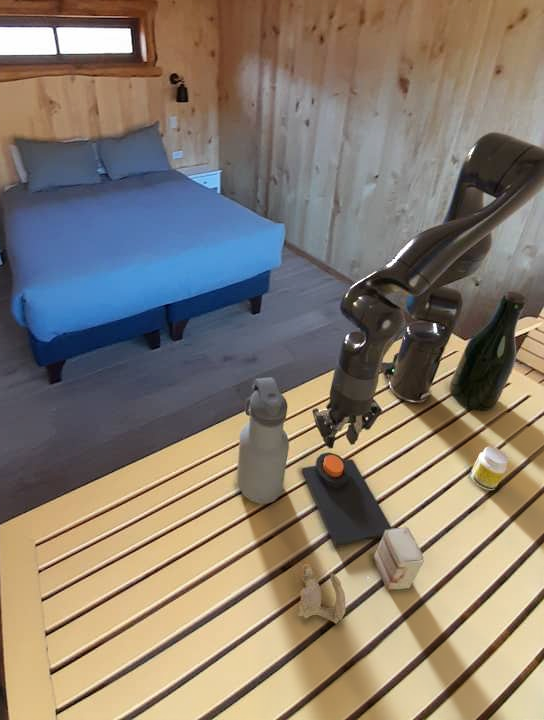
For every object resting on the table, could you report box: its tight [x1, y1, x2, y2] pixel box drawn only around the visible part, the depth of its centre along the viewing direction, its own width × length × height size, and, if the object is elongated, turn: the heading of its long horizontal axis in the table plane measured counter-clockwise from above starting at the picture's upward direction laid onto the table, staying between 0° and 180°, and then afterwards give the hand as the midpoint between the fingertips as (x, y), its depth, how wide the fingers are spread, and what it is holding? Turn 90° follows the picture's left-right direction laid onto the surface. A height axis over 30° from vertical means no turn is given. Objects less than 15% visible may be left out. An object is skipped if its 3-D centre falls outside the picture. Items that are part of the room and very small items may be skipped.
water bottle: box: [236, 377, 290, 505], centre depth 81 cm, size 10×10×28 cm
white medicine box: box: [373, 526, 426, 591], centre depth 70 cm, size 5×4×10 cm
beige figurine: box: [297, 563, 347, 624], centre depth 67 cm, size 9×6×10 cm
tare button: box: [323, 455, 344, 478], centre depth 86 cm, size 4×4×2 cm
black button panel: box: [301, 452, 393, 548], centre depth 83 cm, size 16×12×3 cm
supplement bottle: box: [470, 446, 509, 491], centre depth 85 cm, size 5×5×8 cm
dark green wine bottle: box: [448, 291, 526, 413], centre depth 99 cm, size 10×10×33 cm
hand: (339, 442), depth 83 cm, fingers open, 4 cm apart
